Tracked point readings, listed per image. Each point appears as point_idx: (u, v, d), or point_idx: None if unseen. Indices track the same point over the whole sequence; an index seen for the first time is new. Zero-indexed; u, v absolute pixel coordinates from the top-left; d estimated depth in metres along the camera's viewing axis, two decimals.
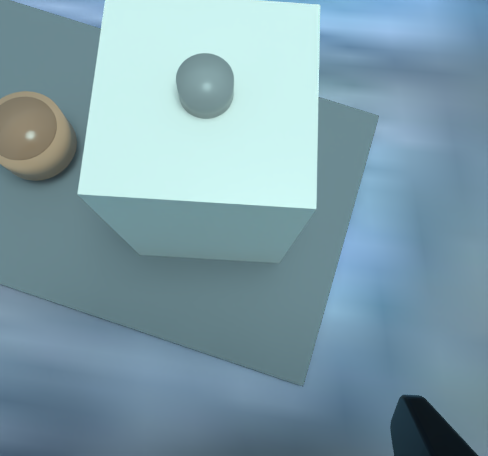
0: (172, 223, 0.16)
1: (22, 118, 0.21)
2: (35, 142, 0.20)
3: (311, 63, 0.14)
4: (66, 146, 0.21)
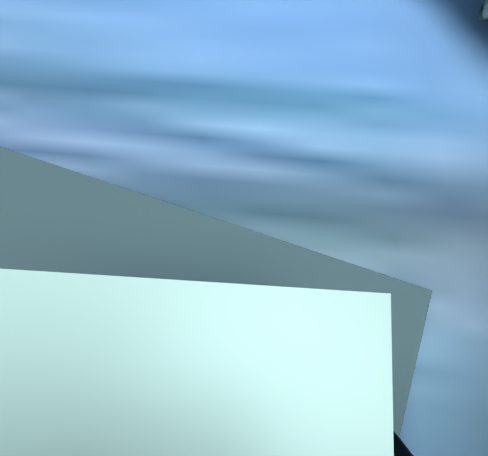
0: None
1: None
2: None
3: (377, 444, 0.06)
4: None
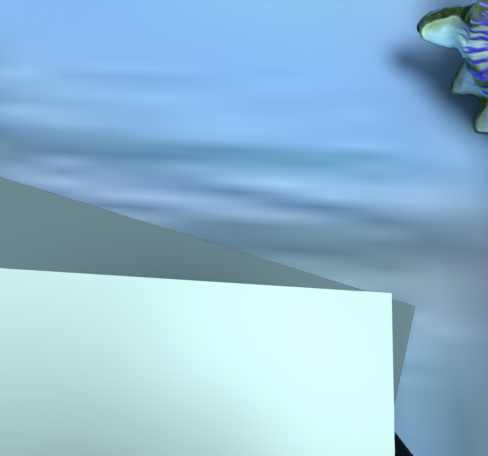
0: None
1: None
2: None
3: (378, 443, 0.06)
4: None
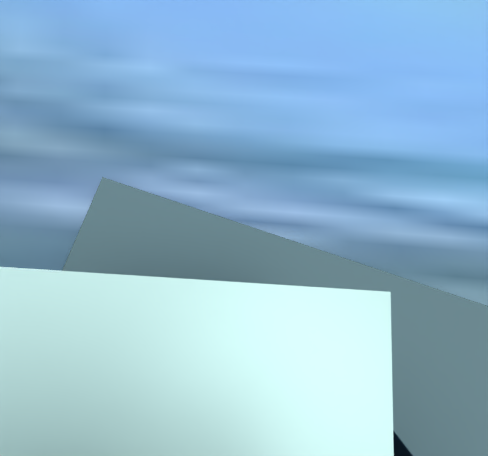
0: None
1: None
2: None
3: (376, 442, 0.06)
4: None
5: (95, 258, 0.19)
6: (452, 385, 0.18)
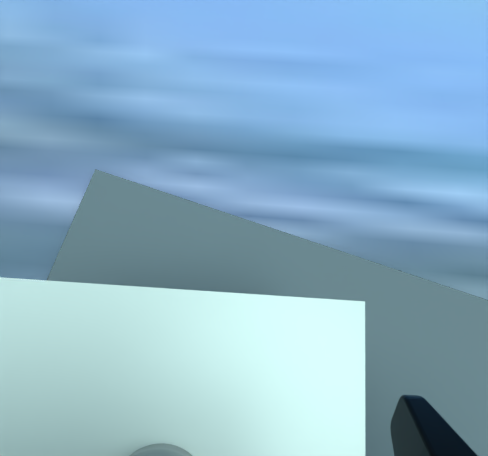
0: None
1: None
2: None
3: (351, 425, 0.08)
4: None
5: (87, 255, 0.18)
6: (469, 391, 0.17)
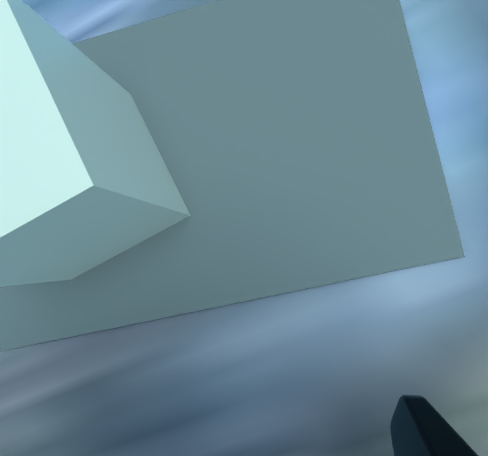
0: (23, 259, 0.15)
1: None
2: None
3: (18, 44, 0.13)
4: None
5: None
6: (275, 59, 0.21)
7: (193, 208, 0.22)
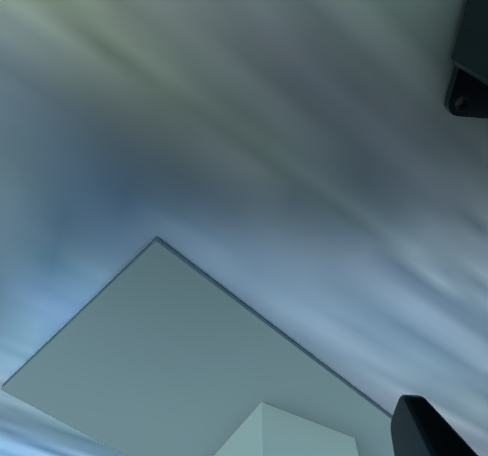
0: None
1: None
2: None
3: None
4: None
5: None
6: (121, 408, 0.27)
7: (255, 402, 0.27)
